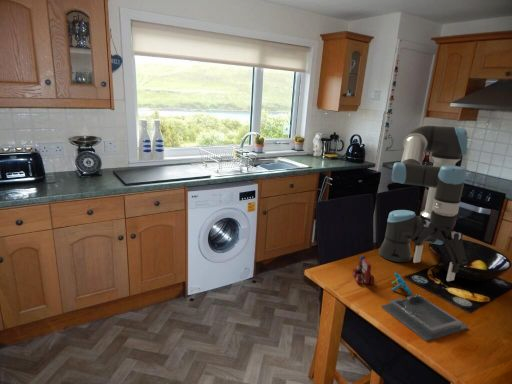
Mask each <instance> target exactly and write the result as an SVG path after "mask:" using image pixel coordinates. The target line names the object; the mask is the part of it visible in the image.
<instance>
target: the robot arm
mask: <svg viewBox="0 0 512 384" xmlns="http://www.w3.org/2000/svg"><path fill="white" fill-rule="evenodd" d="M402 146H403V148H404V149H403V152H402V156H401V160H400V162H398V161H397V162H394V163H393V166H392V172H391V181H392V182H393V183H398V184H402V185H403V184H404V185H410V186H421V187H426V188H428V192H427V196H426V197H427V198H426V202H425V208H424V210H423V211H420V214H419V215H416V212H415V211H412V210H407V209H397V210H395V209H394V210H392V211H390V212H389V214H388V218H387V219H386V221H387V224H386V229H385V235H384V240H383V241H382V243H381V245H380V246H379V248H378V249H379V250H378V254H379V256H380V257H382V258H384V259H385V260H388V261H391V262H396V263H407V262H410V261H413V263H414V264H416V263H420V262H421V259H422V254H423V249H424V245H423V244H424V243H428V244H431V245H438V246H439V245H443V244H444V246H445V247H446V249H447V252H448V255H449V258H450V260H451V261H450V262H449V265H448V270H447V274H446V281H447V282H451V281H455V277H456V273H459V269H460V265H461V266H462V265H466V264H467V263H468V260H467V255H466V251H465V247H464V243H463V235H464V234H463V233H462V232H455V230H454V228H455V227H456V223H457V218H458V216H457V215H458V214H459V209H460V204H461V198H462V195H463V189H464V185H465V181H466V177H467V176H466V175H467V169H466V168H465V167H462V166H457V165H456V164H457V163H458V162H459V161H461V159H462V156H466V154H467V150H468V131H467V130H466V129H465V128H464V127H463V128H462V127H456V126H442V125H441V126H439V125H423V126H419V127H417V128H414V129H412V130H411V131H409V132H408V133H407V134H406V136H405V137H404V139H403V142H402ZM425 152H427V153H431V158H432V159H433V165H426V164H423V159H424V153H425ZM411 242H412V243H413V244H414V247H413V253H414V255H413V260H412V251H411Z"/></svg>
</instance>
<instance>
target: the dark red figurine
mask: <svg viewBox="0 0 512 384" xmlns="http://www.w3.org/2000/svg"><path fill="white" fill-rule="evenodd" d="M371 270H372V265H371V263H370V262H369V261H368V259H367V258H366V256H365V255H360V257H359V260H358V262H357V268H353V269H352V276H353V277H354V279H355V282H356V284H359V285H361V284H362V282H363V283H364V284H368V285H372V286H373V285H375V277H374V275H373V274H372V273H371Z"/></svg>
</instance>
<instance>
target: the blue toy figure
mask: <svg viewBox="0 0 512 384" xmlns="http://www.w3.org/2000/svg"><path fill="white" fill-rule="evenodd" d="M394 276H395V280H393V281H392V282H391V284H392V285H394V284H395V283H397V285H396V286H394V287H392V288H391V290H392V291H393V292H395V291H396V290H397V289H398V290H399V289H402V288H403V290H404V291H405V292H406V293H407V295H409V296H412V295H413V293H412V291H411V290H410V287H409V286H408V285H407V282H406V281H405V280H404V279H403V277H402V276H401V275H400V274H399V273H397V272H394Z"/></svg>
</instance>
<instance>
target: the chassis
mask: <svg viewBox="0 0 512 384" xmlns="http://www.w3.org/2000/svg"><path fill="white" fill-rule="evenodd" d="M381 309H383V310H384V311H385V312H387V313H389V314H390V315H391V316H392V317H393V318H395V319H396V320H398V321H399V322H400V323H401V324H402V325H404V326H405V327H406V328H408V329H409V330H410V331H412V332H413V333H415V335H417V336H418V337H420V338H421V339H422V340H424V341H425V342H430V341H432V340H436V339H439V338H442V337H446V336H449V335H452V334H456V333H458V332H462V331H466V330H468V329H469V326H468V325H467V324H465V323H463V321H461V320H459V319H458V318H457V317H455V316H453V315H451V313H449V312H448V311H446V310H444V309H442V308H441V307H440V306H437V305H436V304H434V303H432V302H431V301H429V300H428V299H427V298H425V297H424V296H422V295H420V294H418V293H417V294H412V295H409V296H407V297H406V299H404V298H403V297H401V298H395V299H391V300H389V303H387V304H382V305H381Z"/></svg>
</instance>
